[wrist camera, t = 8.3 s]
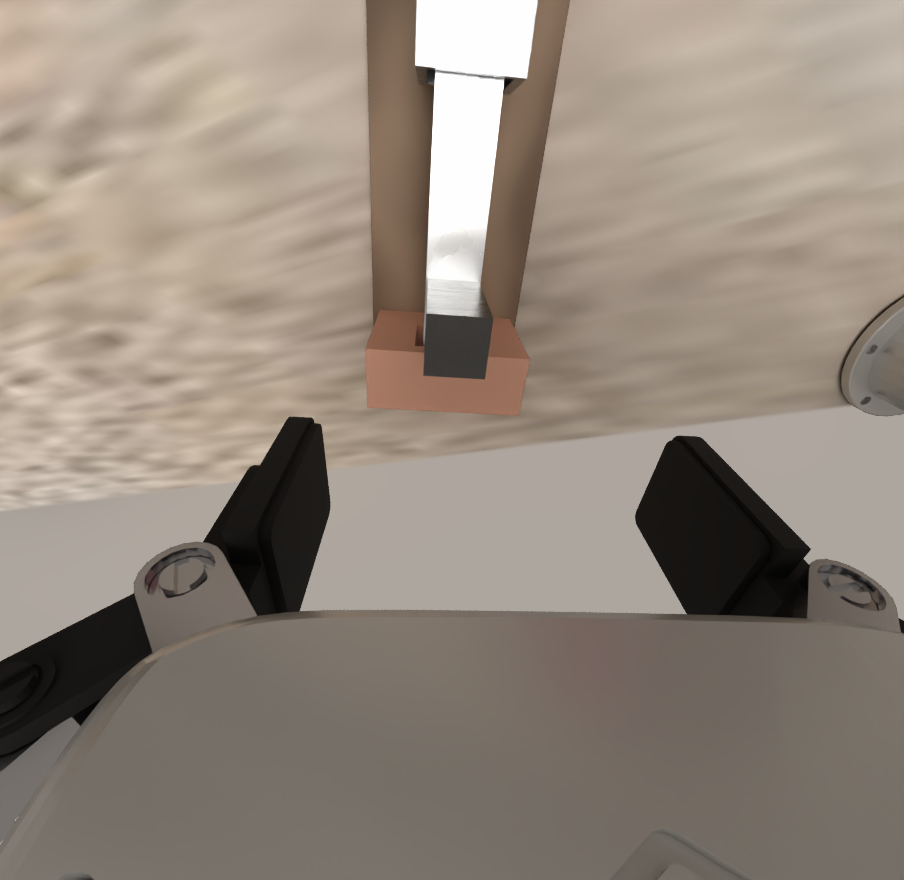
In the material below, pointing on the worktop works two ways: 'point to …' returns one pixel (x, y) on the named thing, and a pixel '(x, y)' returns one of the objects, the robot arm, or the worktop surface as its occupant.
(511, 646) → the robot arm
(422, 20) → the outer sleeve
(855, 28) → the worktop surface
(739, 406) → the worktop surface
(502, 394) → the socket block
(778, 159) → the worktop surface
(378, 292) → the base board
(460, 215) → the tube
